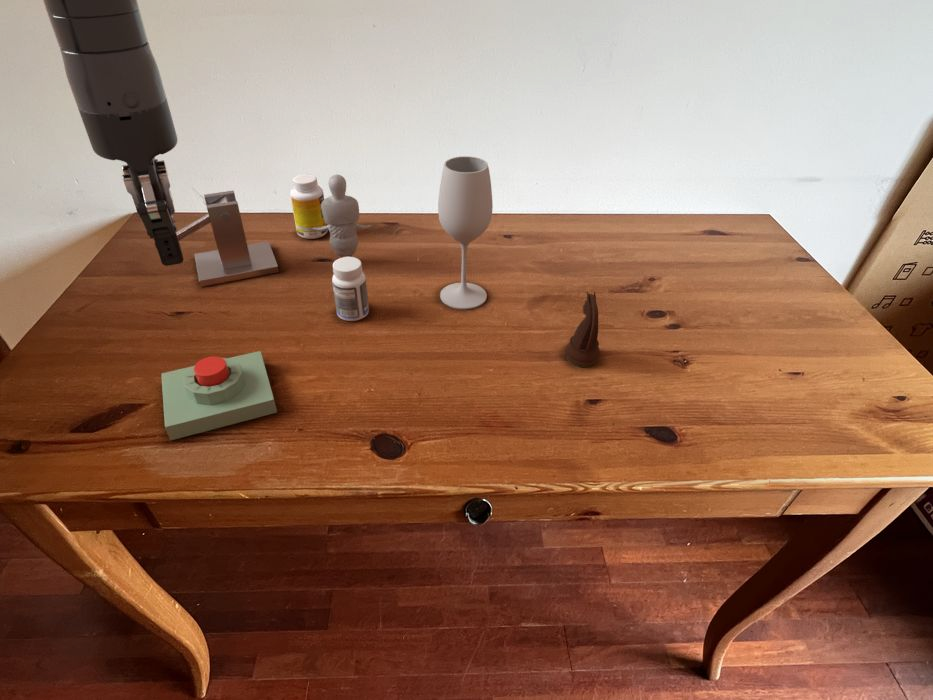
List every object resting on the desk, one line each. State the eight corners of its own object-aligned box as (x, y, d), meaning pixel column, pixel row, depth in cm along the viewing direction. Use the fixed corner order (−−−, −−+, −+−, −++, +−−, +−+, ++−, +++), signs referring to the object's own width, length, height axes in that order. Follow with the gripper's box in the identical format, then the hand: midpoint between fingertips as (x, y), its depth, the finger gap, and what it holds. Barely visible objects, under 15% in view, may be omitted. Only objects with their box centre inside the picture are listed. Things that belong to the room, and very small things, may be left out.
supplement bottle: (329, 238, 107) (321, 183, 101) (297, 241, 106) (287, 186, 100) (327, 224, 112) (320, 171, 105) (296, 227, 111) (287, 173, 104)
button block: (170, 440, 69) (160, 415, 67) (166, 386, 76) (156, 362, 74) (277, 412, 73) (271, 388, 71) (263, 363, 80) (257, 339, 78)
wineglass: (434, 307, 91) (432, 173, 78) (444, 280, 97) (443, 152, 84) (484, 312, 90) (490, 178, 77) (490, 285, 96) (497, 156, 83)
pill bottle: (356, 300, 92) (351, 251, 87) (375, 313, 90) (371, 263, 84) (330, 312, 90) (323, 262, 84) (349, 326, 87) (343, 276, 82)
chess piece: (593, 345, 85) (605, 285, 78) (603, 369, 81) (616, 307, 74) (561, 347, 84) (570, 286, 78) (569, 370, 80) (580, 308, 74)
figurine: (374, 253, 103) (367, 169, 94) (375, 265, 100) (368, 179, 91) (318, 256, 102) (305, 171, 93) (317, 268, 99) (303, 181, 90)
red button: (198, 390, 70) (194, 378, 69) (196, 371, 73) (192, 360, 72) (231, 382, 72) (227, 371, 71) (227, 364, 74) (224, 353, 73)
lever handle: (164, 261, 92) (150, 245, 90) (164, 251, 95) (149, 236, 93) (238, 217, 93) (225, 201, 91) (236, 209, 95) (223, 192, 93)
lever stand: (200, 287, 94) (180, 217, 87) (196, 260, 101) (176, 193, 93) (279, 272, 98) (265, 204, 91) (269, 247, 105) (256, 181, 97)
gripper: (78, 83, 59) (134, 241, 70) (73, 124, 50) (138, 299, 61) (161, 76, 62) (202, 230, 73) (170, 114, 53) (216, 284, 63)
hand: (173, 261), depth 67 cm, fingers closed
